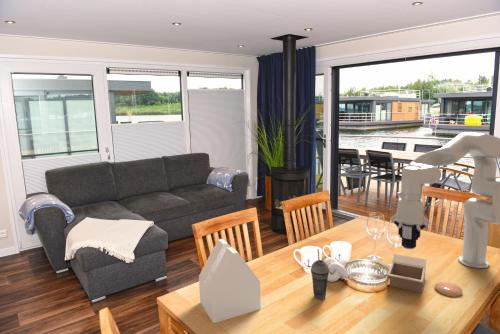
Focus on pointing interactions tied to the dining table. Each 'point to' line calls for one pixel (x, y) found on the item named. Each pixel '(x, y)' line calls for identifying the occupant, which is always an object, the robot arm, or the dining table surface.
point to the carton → (407, 272)
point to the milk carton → (228, 284)
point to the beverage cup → (319, 278)
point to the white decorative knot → (336, 269)
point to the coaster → (448, 289)
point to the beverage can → (409, 236)
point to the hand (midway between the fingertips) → (409, 237)
